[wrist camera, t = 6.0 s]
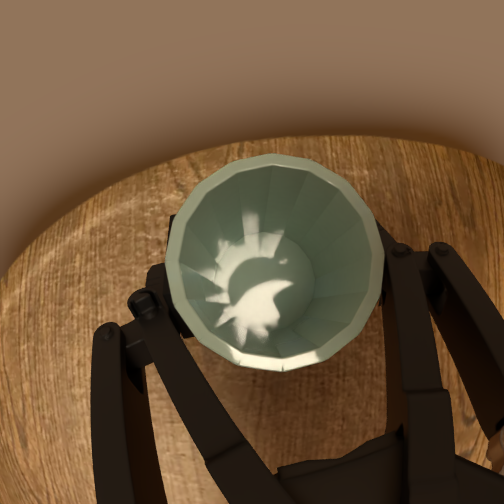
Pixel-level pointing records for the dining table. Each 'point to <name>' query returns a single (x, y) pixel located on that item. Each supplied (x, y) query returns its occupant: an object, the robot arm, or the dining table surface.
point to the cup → (274, 262)
